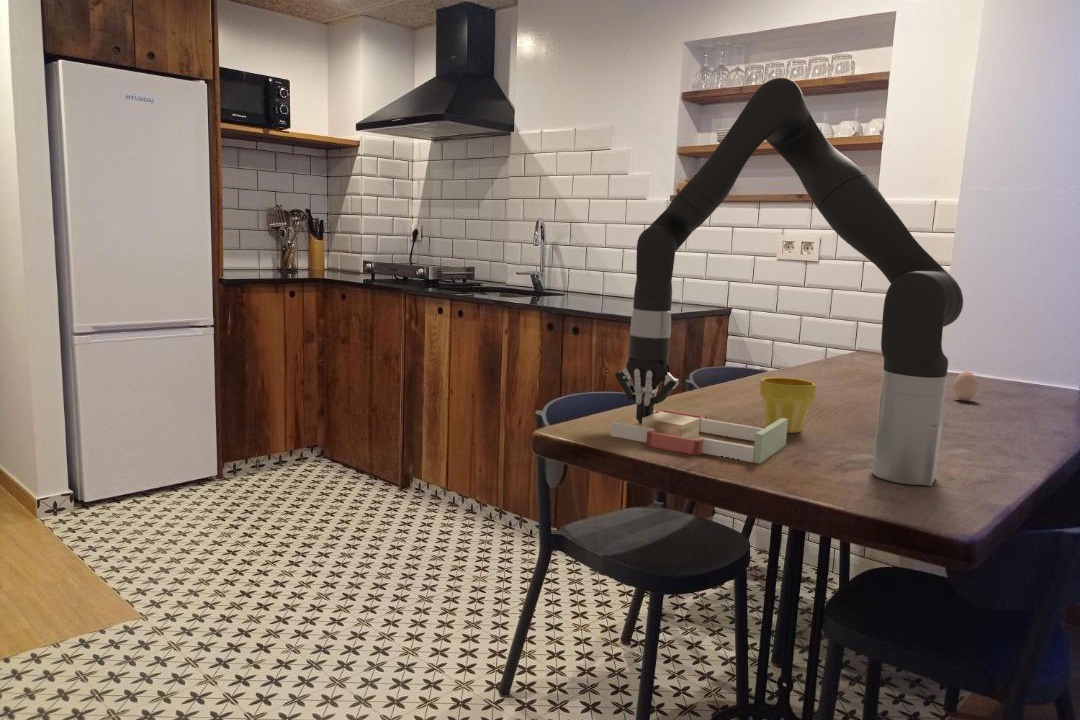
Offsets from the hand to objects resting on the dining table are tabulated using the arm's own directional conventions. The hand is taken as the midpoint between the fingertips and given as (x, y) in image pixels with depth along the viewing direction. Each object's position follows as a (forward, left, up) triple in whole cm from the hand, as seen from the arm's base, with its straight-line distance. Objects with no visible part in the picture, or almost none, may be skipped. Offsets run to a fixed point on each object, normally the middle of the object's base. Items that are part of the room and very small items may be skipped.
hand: (643, 423), depth 155 cm
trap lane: (-11, 0, -2) cm, 11 cm away
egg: (-48, -85, -2) cm, 98 cm away
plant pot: (-21, -21, -2) cm, 30 cm away
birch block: (-6, +1, -2) cm, 6 cm away
